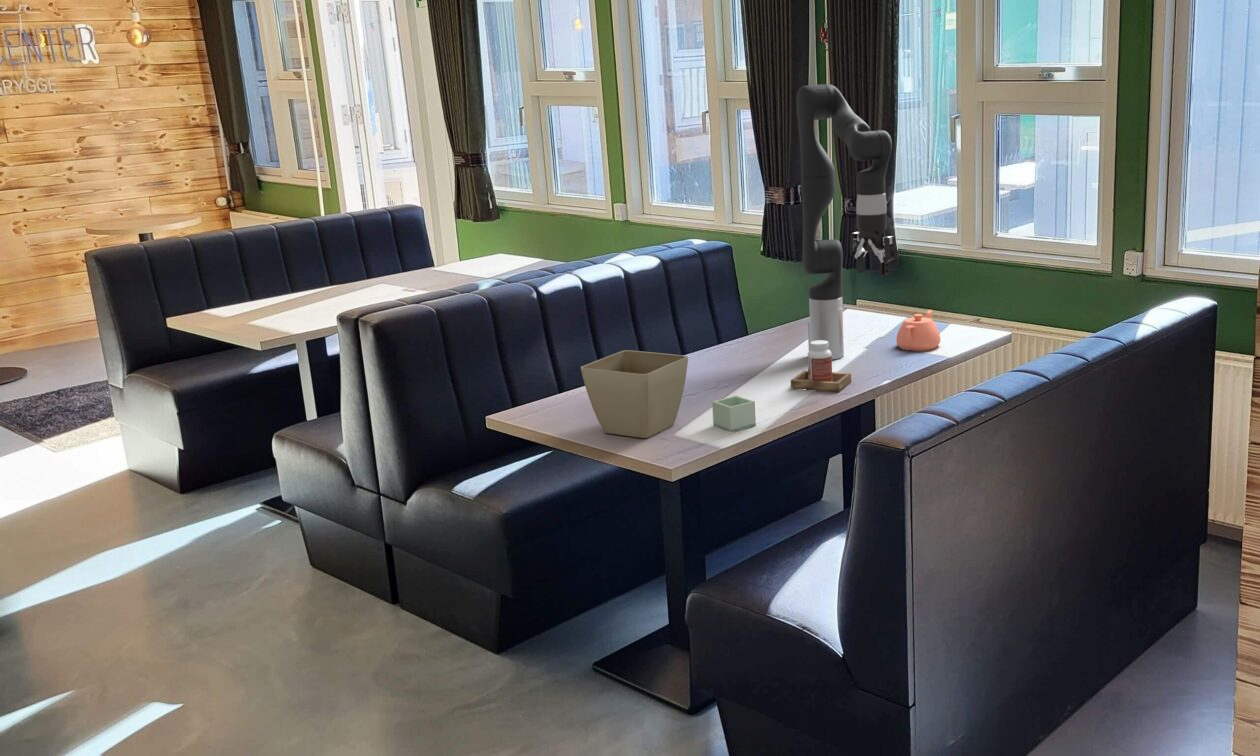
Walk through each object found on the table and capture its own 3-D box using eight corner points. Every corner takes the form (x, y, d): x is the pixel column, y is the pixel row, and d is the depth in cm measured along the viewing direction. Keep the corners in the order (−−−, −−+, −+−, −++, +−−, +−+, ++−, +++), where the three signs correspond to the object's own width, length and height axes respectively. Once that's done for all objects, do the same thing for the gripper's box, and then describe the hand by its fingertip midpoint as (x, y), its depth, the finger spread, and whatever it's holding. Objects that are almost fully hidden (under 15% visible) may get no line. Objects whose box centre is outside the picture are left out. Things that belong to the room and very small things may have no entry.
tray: (790, 389, 319) (790, 380, 318) (804, 379, 327) (804, 370, 327) (838, 392, 313) (838, 383, 312) (851, 382, 321) (851, 373, 320)
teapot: (886, 351, 350) (886, 319, 347) (912, 337, 364) (912, 306, 361) (927, 355, 343) (926, 322, 340) (951, 340, 357) (951, 308, 354)
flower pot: (629, 413, 307) (624, 348, 303) (693, 422, 296) (690, 354, 292) (583, 435, 292) (578, 367, 288) (650, 445, 282) (645, 374, 277)
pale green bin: (713, 425, 293) (712, 401, 291) (737, 419, 296) (736, 395, 295) (731, 432, 287) (730, 407, 285) (755, 425, 290) (754, 401, 289)
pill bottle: (837, 383, 319) (836, 341, 316) (819, 388, 316) (818, 346, 313) (821, 378, 324) (820, 338, 321) (803, 383, 321) (802, 342, 318)
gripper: (902, 211, 306) (903, 275, 310) (863, 207, 318) (864, 269, 322) (880, 215, 302) (881, 280, 306) (841, 211, 314) (842, 273, 318)
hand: (872, 274), depth 314 cm, fingers open, 8 cm apart
